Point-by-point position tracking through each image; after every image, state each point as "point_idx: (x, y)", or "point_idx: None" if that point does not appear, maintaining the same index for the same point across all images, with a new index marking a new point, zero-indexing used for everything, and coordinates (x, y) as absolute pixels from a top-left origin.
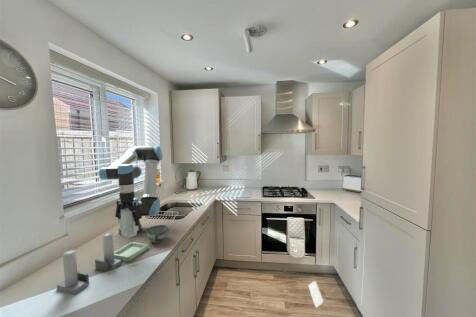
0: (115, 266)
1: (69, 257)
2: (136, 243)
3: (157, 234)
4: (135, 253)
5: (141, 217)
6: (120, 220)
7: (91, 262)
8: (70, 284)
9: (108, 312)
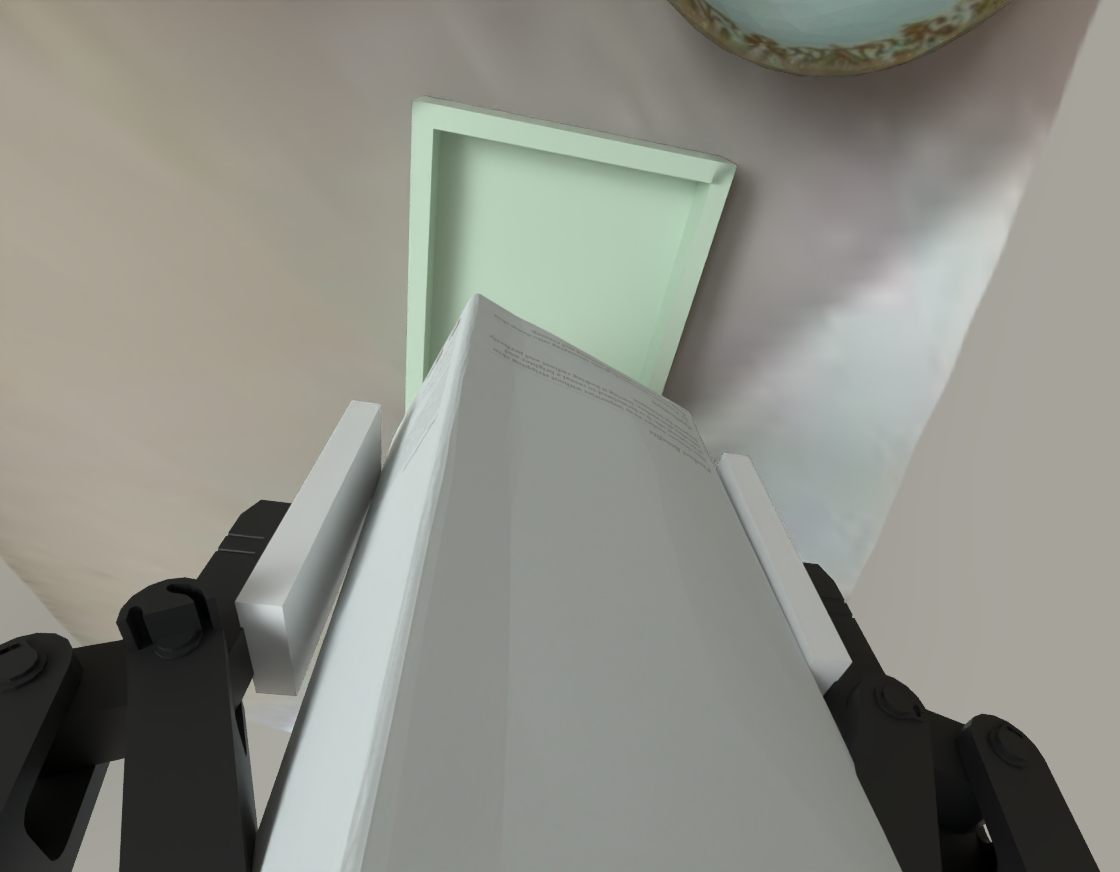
0: None
1: None
2: (526, 145)
3: (939, 28)
4: (664, 377)
5: (1032, 759)
6: (309, 647)
7: (298, 467)
8: None
9: None
